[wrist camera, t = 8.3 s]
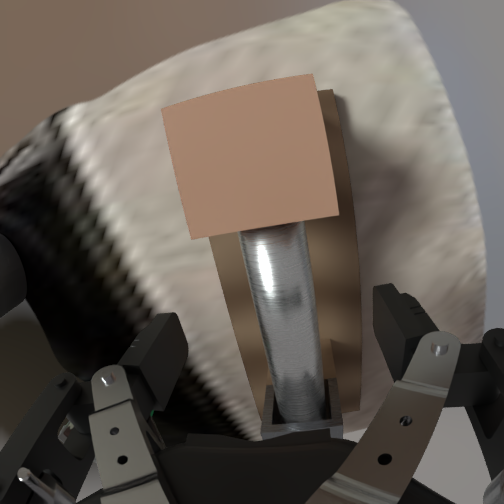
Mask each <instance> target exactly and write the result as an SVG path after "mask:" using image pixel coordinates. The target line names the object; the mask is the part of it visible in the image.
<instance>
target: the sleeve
mask: <svg viewBox="0 0 504 504" xmlns="http://www.w3.org/2000/svg"><path fill="white" fill-rule="evenodd" d="M328 392H329V410H330V419H328V420H321V421H312V422H303V423H291V424H282V420H281V416H280V412H279V408H278V404H277V400H276V396H275V391H274V387H273V385H266V392H265V400H264V408H263V417H262V425H261V432H260V433H261V436H262V439H263V440H266V439H270V438H274V437H277V436H281V435H285V434H289V433H292V432H300V431H310V430H318V429H326V428H330V434H331V438H340V439H343V420H342V412H341V405H340V398H339V391H338V384H337V378H336V377H335V378H329V379H328Z"/></svg>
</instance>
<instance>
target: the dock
mask: <svg viewBox="0 0 504 504" xmlns="http://www.w3.org/2000/svg"><path fill="white" fill-rule="evenodd" d="M317 94H318V98H319V102H320V107H321V112H322V116H323V121H324V126H325V131H326V136H327V141H328V147H329V152H330V158H331V163H332V169H333V176H334V182H335V188H336V195H337V202H338V210H339V215H337V216H330V217H324V218H317V219H311V220H304V222H305V228H306V234H307V241H308V248H309V254H310V261H311V269H312V276H313V283H314V291H315V299H316V308H317V316H318V325H319V334H320V344H321V354H322V365H323V377H324V390H325V404H326V420H328V419H330V410H329V392H328V379H329V378H335V377H336V378H337V384H338V391H339V398H340V405H341V412H342V413H346V412H352V411H358V410H360V393H361V364H362V320H361V290H360V272H359V258H358V246H357V235H356V225H355V216H354V207H353V199H352V191H351V184H350V177H349V171H348V164H347V158H346V152H345V147H344V141H343V136H342V130H341V125H340V120H339V116H338V111H337V106H336V102H335V97H334V93H333V89H330V90H321V91H317ZM209 240H210V244H211V248H212V252H213V256H214V260H215V263H216V267H217V271H218V275H219V279H220V282H221V286H222V290H223V293H224V297H225V301H226V304H227V308H228V312H229V315H230V319H231V322H232V326H233V329H234V333H235V336H236V340H237V343H238V347H239V350H240V353H241V357H242V360H243V363H244V367H245V370H246V373H247V377H248V380H249V383H250V387H251V390H252V393H253V396H254V399H255V403H256V406H257V409H258V412H259V415H260V418H261V421H262V417H263V408H264V400H265V392H266V385H273V383H272V379H271V375H270V370H269V366H268V362H267V358H266V354H265V349H264V345H263V341H262V337H261V332H260V328H259V324H258V320H257V315H256V311H255V307H254V302H253V298H252V294H251V289H250V285H249V281H248V276H247V272H246V268H245V263H244V259H243V254H242V250H241V246H240V241H239V237H238V232H232V233H226V234H220V235H215V236H209Z"/></svg>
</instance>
